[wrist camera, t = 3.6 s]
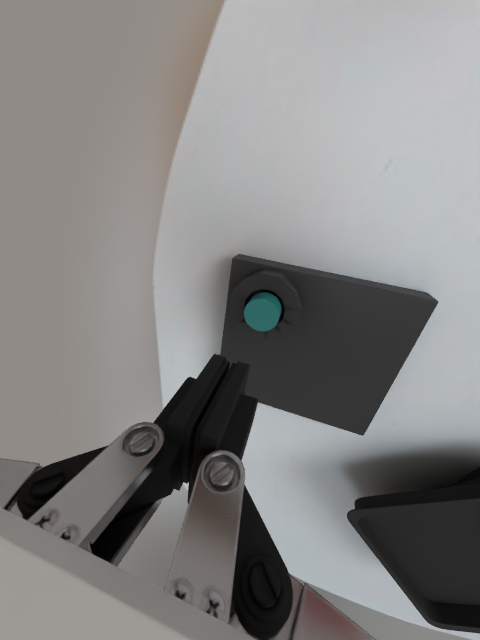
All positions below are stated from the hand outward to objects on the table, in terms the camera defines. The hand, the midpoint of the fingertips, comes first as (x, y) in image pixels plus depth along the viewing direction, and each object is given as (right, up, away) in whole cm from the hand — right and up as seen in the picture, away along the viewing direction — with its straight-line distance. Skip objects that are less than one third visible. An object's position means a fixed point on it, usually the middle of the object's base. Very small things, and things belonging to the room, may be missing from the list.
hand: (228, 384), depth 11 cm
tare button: (+2, +4, +8) cm, 9 cm away
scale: (+7, +1, +12) cm, 14 cm away
